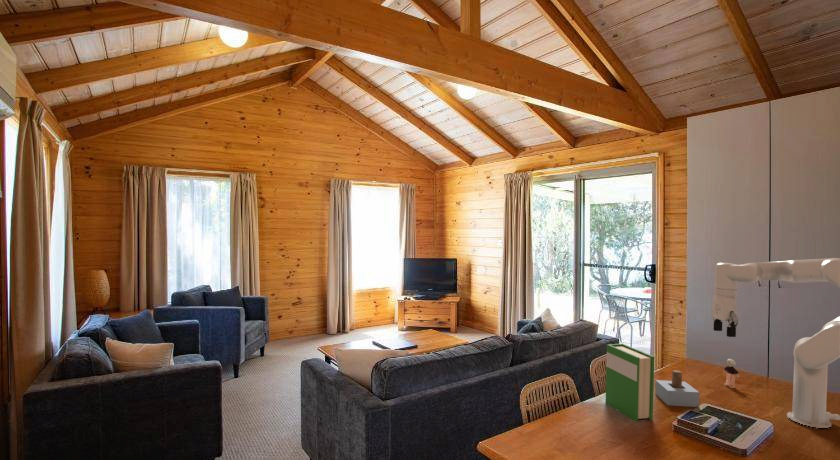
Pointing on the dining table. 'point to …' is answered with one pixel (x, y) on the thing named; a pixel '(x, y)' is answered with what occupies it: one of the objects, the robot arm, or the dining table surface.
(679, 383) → the peg
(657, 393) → the socket block
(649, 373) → the hardback book
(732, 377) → the grandmother figurine
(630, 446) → the dining table surface
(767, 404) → the dining table surface
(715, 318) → the robot arm
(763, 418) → the dining table surface
